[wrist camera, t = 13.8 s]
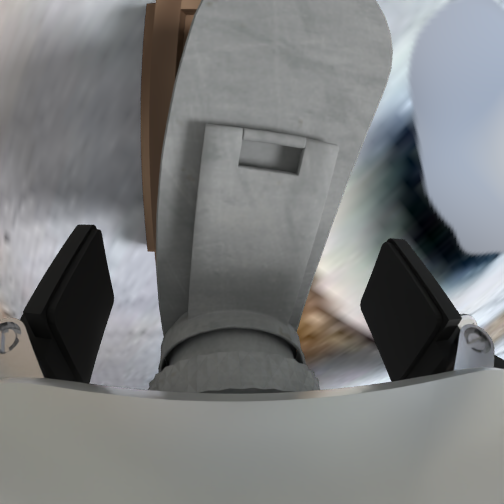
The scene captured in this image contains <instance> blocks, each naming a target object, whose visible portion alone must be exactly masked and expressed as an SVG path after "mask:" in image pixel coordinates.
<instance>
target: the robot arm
mask: <svg viewBox="0 0 504 504" xmlns="http://www.w3.org/2000/svg"><path fill="white" fill-rule="evenodd" d="M113 302H114V294H113V289H112V284H111V280H110V275H109V270H108V265H107V260H106V255H105V249H104V244H103V238H102V233H101V230H98V229H97V228H96V226H95V225H77V226H76V228H75V229H74V231H73V232H72V233H71V235H70V236H69V238H68V239H67V241H66V242H65V244H64V245H63V247H62V248H61V250H60V251H59V253H58V254H57V256H56V257H55V259H54V260H53V262H52V264H51V265H50V267H49V268H48V270H47V271H46V273H45V275H44V276H43V278H42V280H41V281H40V283H39V285H38V286H37V288H36V290H35V291H34V293H33V295H32V297H31V298H30V300H29V302H28V304H27V306H26V307H25V309H24V311H23V315H22V317H21V319H20V320H19V319H16V318H5V319H2V320H0V504H504V360H503V359H501V358H499V357H497V356H496V355H494V343H493V341H492V339H491V337H490V336H489V334H488V333H487V332H486V331H485V330H483V329H482V328H480V327H479V326H477V323H476V321H475V319H474V318H473V317H472V316H469V315H463V316H460V314H459V313H458V311H457V310H456V308H455V307H454V305H453V304H452V302H451V301H450V299H449V298H448V297H447V295H446V294H445V292H444V291H443V289H442V288H441V287H440V285H439V284H438V282H437V281H436V280H435V278H434V277H433V276H432V274H431V273H430V272H429V270H428V269H427V268H426V266H425V265H424V264H423V262H422V261H421V260H420V258H419V257H418V256H417V254H416V253H415V252H414V251H413V249H412V248H411V247H410V245H409V244H408V243H407V242H406V241H405V240H403V239H391V238H390V239H388V240H387V242H385V243H383V245H382V247H381V250H380V253H379V255H378V258H377V261H376V263H375V266H374V269H373V271H372V274H371V277H370V279H369V282H368V284H367V287H366V289H365V292H364V294H363V297H362V299H361V304H360V306H361V311H362V313H363V315H364V317H365V320H366V322H367V324H368V327H369V329H370V331H371V333H372V336H373V338H374V340H375V343H376V345H377V348H378V350H379V352H380V355H381V357H382V360H383V362H384V364H385V367H386V369H387V372H388V374H389V377H390V379H391V381H392V382H386V383H380V384H372V385H365V386H357V387H348V388H338V389H328V390H316V391H302V392H285V393H256V394H213V393H183V392H166V391H153V390H141V389H131V388H121V387H111V386H103V385H95V384H89V382H90V379H91V375H92V371H93V368H94V364H95V361H96V357H97V354H98V350H99V347H100V343H101V340H102V337H103V334H104V330H105V327H106V324H107V321H108V318H109V315H110V312H111V309H112V306H113Z"/></svg>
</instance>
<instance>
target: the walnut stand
mask: <svg viewBox="0 0 504 504" xmlns="http://www.w3.org/2000/svg"><path fill="white" fill-rule="evenodd" d="M200 2H201V0H156V3H150V4H147V6H146V16H145V27H144V40H143V55H142V77H141V162H142V185H143V202H144V216H145V228H146V239H147V249H148V251H151V252H155V261H156V214H157V199H158V186H159V174H160V163H161V154H162V147H163V141H164V135H165V129H166V124H167V118H168V113H169V108H170V103H171V98H172V93H173V88H174V83H175V79H176V75H177V71H178V68H179V64H180V60H181V57H182V53H183V50H184V46H185V43H186V39H187V36H188V33H189V30H190V26H191V23H192V20H193V17H194V14H195V12H196V10H197V8H198V6H199V4H200Z"/></svg>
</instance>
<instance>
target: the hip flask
mask: <svg viewBox="0 0 504 504" xmlns="http://www.w3.org/2000/svg"><path fill="white" fill-rule="evenodd" d="M392 54H393V49H392V40H391V33H390V30H389V27H388V24H387V21H386V18H385V16H384V14H383V12H382V10H381V8H380V7H379V5H378V3H377V1H376V0H201V2H200V4H199V6H198V8H197V10H196V12H195V14H194V17H193V20H192V23H191V26H190V30H189V33H188V36H187V39H186V43H185V46H184V50H183V53H182V57H181V60H180V64H179V68H178V71H177V75H176V79H175V83H174V88H173V93H172V98H171V103H170V108H169V113H168V118H167V124H166V129H165V135H164V141H163V147H162V154H161V163H160V174H159V186H158V199H157V214H156V273H157V287H158V299H159V309H160V316H161V323H162V330H163V336H164V338H163V342H162V345H161V359H160V364H159V368H158V369H159V373H158V374H156V375H155V378H154V379H153V380H152V381H151V382H150V383H149V386H150V388H149V389H148V390H153V391H166V392H183V393H213V394H256V393H285V392H302V391H316V390H320V388H319V380H318V379H317V378H316V377H315V375H314V372H313V371H311V370H309V369H308V367H307V365H306V363H305V357H304V354H303V352H302V350H301V347H300V341H299V336H298V334H297V333H296V332H297V329H298V326H299V322H300V319H301V315H302V312H303V309H304V306H305V303H306V299H307V296H308V293H309V290H310V287H311V284H312V281H313V278H314V275H315V272H316V269H317V266H318V264H319V261H320V258H321V255H322V252H323V250H324V247H325V244H326V241H327V238H328V235H329V232H330V230H331V227H332V224H333V222H334V219H335V216H336V214H337V211H338V208H339V206H340V203H341V200H342V197H343V194H344V192H345V189H346V186H347V183H348V181H349V178H350V176H351V173H352V171H353V168H354V166H355V163H356V161H357V158H358V156H359V153H360V150H361V148H362V145H363V143H364V140H365V137H366V135H367V132H368V130H369V127H370V125H371V122H372V120H373V118H374V115H375V113H376V110H377V108H378V105H379V103H380V100H381V98H382V95H383V93H384V90H385V87H386V85H387V82H388V78H389V75H390V71H391V66H392ZM165 360H166V361H165Z"/></svg>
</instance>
